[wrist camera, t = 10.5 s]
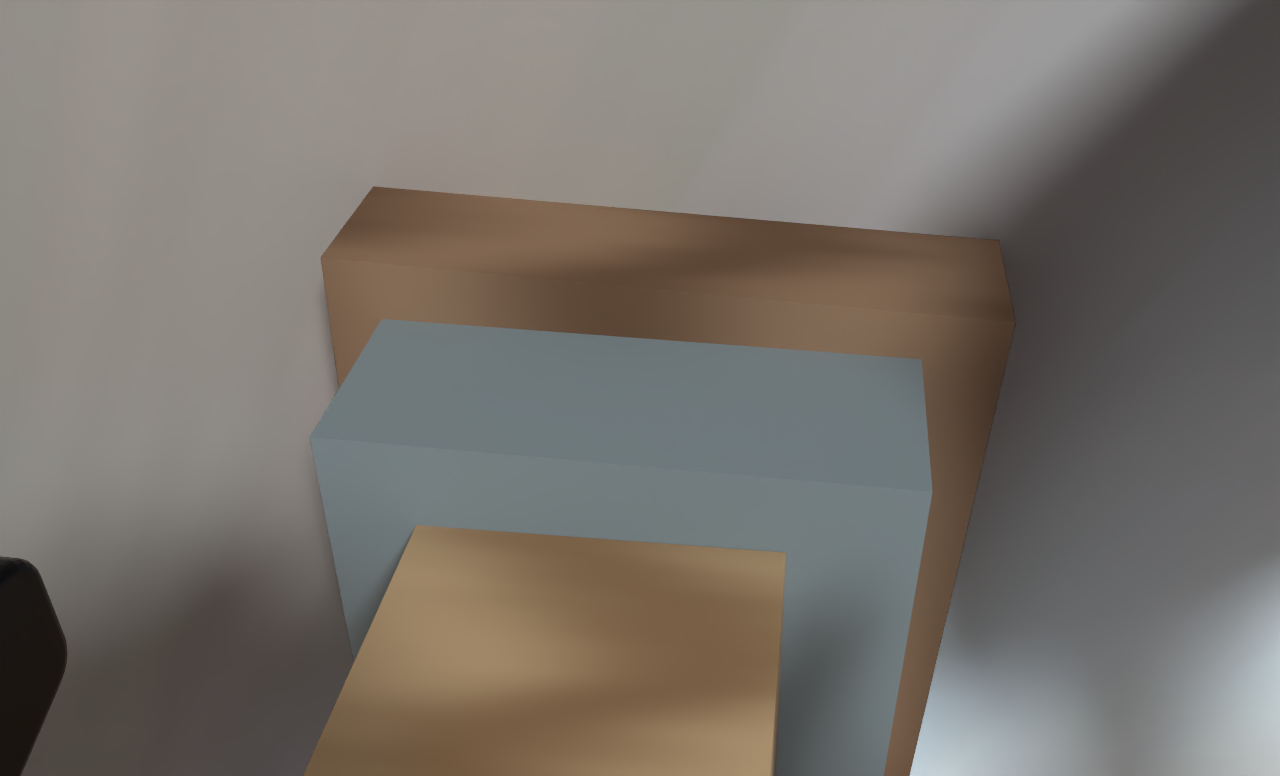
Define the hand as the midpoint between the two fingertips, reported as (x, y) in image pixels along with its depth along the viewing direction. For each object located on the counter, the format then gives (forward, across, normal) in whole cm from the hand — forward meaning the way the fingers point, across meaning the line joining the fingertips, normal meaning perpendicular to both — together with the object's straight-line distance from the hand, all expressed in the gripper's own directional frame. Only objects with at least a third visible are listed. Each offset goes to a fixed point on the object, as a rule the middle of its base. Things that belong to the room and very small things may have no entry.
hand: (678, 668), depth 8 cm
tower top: (+10, +2, +8) cm, 12 cm away
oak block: (+6, +2, +7) cm, 10 cm away
